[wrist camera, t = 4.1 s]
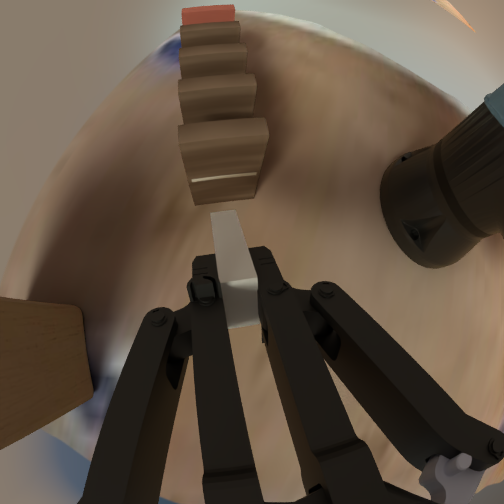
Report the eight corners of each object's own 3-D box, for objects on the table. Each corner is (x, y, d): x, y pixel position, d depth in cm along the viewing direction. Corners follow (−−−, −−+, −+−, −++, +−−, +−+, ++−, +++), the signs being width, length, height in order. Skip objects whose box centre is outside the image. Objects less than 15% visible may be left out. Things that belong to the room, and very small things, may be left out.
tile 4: (235, 95, 30) (240, 27, 20) (188, 100, 30) (180, 32, 19) (233, 87, 31) (238, 20, 20) (188, 91, 30) (180, 25, 19)
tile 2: (246, 157, 29) (257, 86, 18) (191, 163, 28) (178, 93, 17) (244, 145, 29) (253, 73, 18) (190, 150, 28) (178, 79, 17)
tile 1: (253, 199, 28) (269, 135, 17) (194, 206, 27) (178, 144, 16) (251, 184, 28) (265, 116, 17) (193, 191, 27) (178, 125, 16)
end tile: (230, 72, 31) (235, 9, 21) (187, 76, 31) (181, 13, 20) (229, 65, 32) (233, 4, 21) (187, 69, 31) (182, 8, 20)
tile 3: (240, 123, 30) (247, 51, 19) (189, 128, 29) (178, 57, 18) (238, 113, 30) (245, 42, 19) (189, 118, 29) (179, 48, 18)
